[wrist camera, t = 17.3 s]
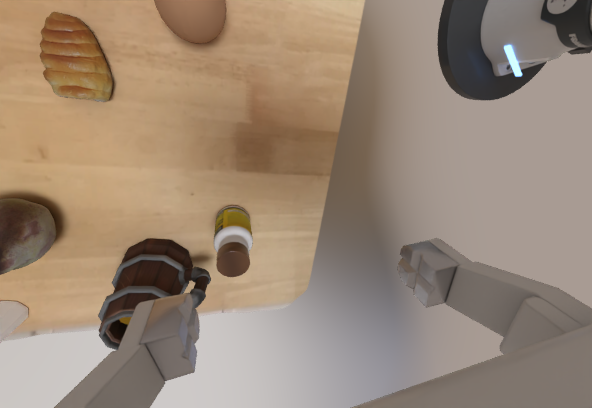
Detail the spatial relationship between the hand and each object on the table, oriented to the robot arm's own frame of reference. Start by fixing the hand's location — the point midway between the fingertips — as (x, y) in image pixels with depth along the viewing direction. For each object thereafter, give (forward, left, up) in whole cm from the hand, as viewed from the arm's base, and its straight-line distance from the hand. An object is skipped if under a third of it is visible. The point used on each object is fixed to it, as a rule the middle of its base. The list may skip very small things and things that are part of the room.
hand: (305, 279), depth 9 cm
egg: (+4, -15, -35) cm, 39 cm away
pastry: (+20, -10, -35) cm, 42 cm away
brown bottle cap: (+5, +16, -24) cm, 29 cm away
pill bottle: (+5, +16, -35) cm, 39 cm away
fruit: (+35, +10, -35) cm, 51 cm away
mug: (+18, +23, -35) cm, 46 cm away
